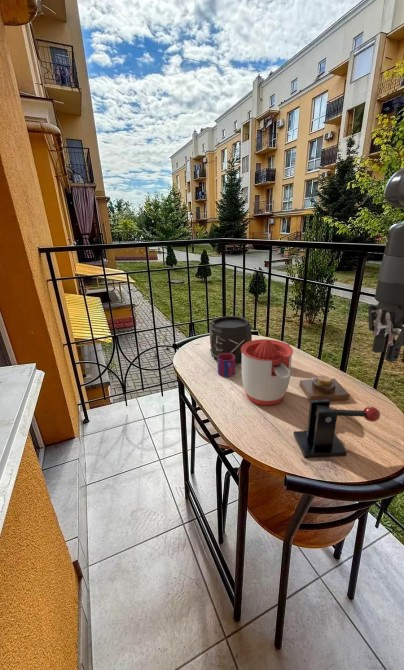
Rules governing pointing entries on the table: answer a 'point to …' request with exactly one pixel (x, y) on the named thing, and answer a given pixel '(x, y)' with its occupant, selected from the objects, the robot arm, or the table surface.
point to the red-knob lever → (355, 412)
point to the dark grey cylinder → (229, 336)
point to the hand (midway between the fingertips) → (383, 355)
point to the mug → (226, 364)
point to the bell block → (323, 390)
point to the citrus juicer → (266, 370)
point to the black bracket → (320, 433)
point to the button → (324, 380)
